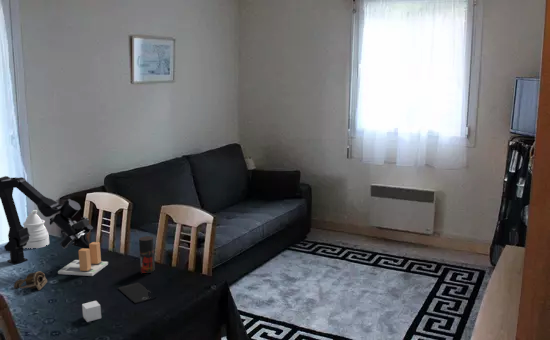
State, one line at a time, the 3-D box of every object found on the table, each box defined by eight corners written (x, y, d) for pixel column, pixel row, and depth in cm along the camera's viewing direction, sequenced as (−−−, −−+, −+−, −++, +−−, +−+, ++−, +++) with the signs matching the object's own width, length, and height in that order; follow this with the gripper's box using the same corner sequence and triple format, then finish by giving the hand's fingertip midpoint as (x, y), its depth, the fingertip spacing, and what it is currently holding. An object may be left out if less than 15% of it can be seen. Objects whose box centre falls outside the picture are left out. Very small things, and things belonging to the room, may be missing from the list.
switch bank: (58, 273, 234) (57, 270, 233) (75, 262, 247) (75, 259, 247) (92, 276, 231) (92, 273, 231) (108, 264, 244) (107, 261, 244)
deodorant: (138, 272, 234) (136, 239, 231) (147, 268, 239) (145, 235, 236) (148, 275, 231) (146, 241, 228) (157, 270, 236) (156, 237, 234)
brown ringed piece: (27, 283, 210) (48, 269, 218) (7, 274, 217) (28, 261, 224) (31, 298, 214) (52, 284, 221) (11, 288, 220) (32, 275, 227)
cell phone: (135, 305, 203) (135, 302, 203) (117, 289, 217) (117, 287, 217) (157, 299, 208) (157, 296, 208) (138, 284, 223) (138, 282, 222)
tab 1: (80, 270, 233) (78, 250, 231) (83, 268, 236) (82, 248, 234) (87, 271, 232) (85, 251, 230) (91, 268, 235) (89, 248, 233)
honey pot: (54, 243, 274) (51, 208, 271) (31, 250, 264) (28, 214, 260) (39, 239, 281) (35, 205, 278) (16, 246, 270) (12, 211, 267)
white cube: (97, 313, 196) (96, 300, 195) (101, 318, 192) (100, 305, 191) (83, 317, 193) (82, 304, 192) (87, 322, 189) (86, 308, 188)
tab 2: (90, 263, 241) (89, 244, 239) (93, 261, 244) (92, 242, 242) (97, 263, 240) (96, 244, 239) (101, 261, 243) (99, 242, 242)
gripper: (65, 218, 230) (90, 244, 230) (87, 207, 248) (111, 231, 248) (49, 235, 233) (75, 261, 233) (73, 223, 251) (96, 247, 251)
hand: (90, 249), depth 241 cm, fingers closed
